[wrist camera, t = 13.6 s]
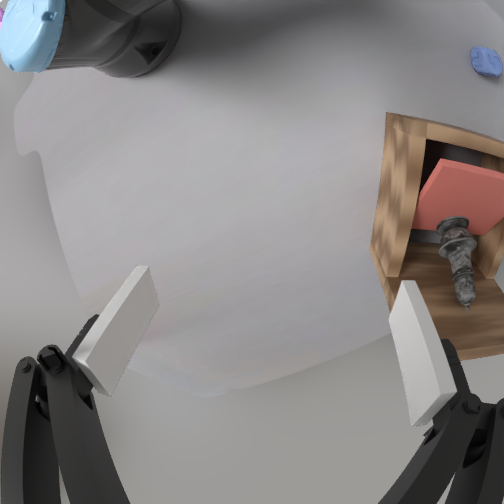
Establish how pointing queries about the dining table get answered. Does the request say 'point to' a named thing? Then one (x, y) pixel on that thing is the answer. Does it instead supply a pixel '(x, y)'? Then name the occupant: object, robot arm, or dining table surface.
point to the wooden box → (427, 254)
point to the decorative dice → (486, 61)
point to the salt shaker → (459, 256)
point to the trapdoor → (461, 197)
